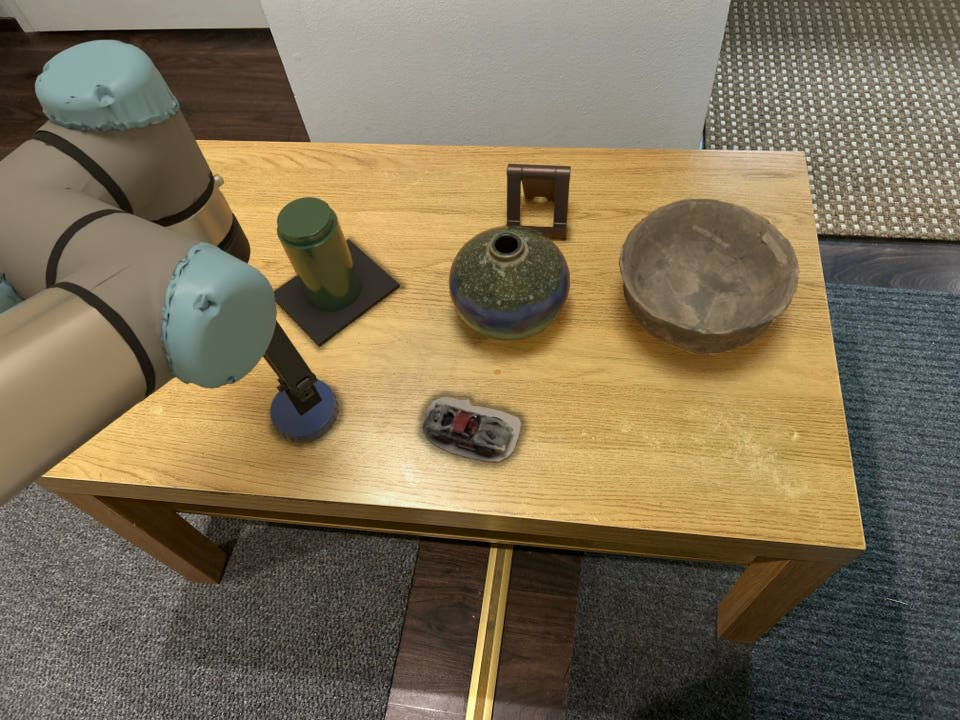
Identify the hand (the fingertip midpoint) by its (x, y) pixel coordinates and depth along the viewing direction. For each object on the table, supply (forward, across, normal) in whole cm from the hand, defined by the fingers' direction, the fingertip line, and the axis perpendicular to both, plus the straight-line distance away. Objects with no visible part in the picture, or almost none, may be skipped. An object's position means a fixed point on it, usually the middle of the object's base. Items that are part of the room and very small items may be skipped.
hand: (274, 367), depth 75 cm
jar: (+12, +14, -15) cm, 24 cm away
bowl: (+13, -23, -46) cm, 53 cm away
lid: (+12, +1, -1) cm, 12 cm away
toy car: (+13, -15, -14) cm, 24 cm away
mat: (+13, +14, -15) cm, 24 cm away
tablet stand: (+13, +3, -44) cm, 46 cm away
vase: (+13, -6, -30) cm, 33 cm away
